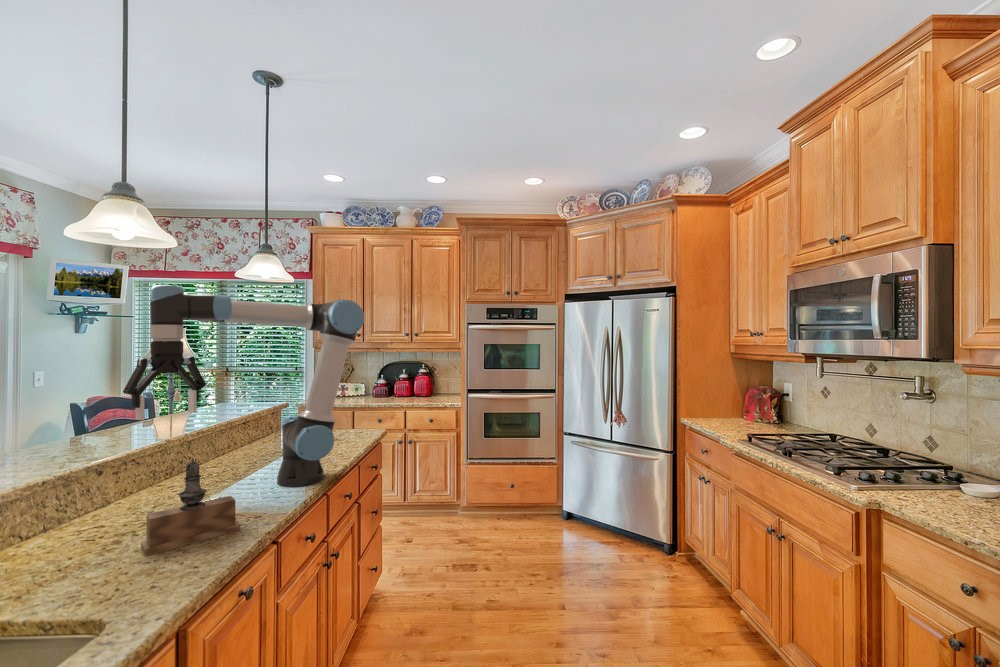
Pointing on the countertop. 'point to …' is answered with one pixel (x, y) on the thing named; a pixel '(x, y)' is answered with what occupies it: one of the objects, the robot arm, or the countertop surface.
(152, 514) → the ridge
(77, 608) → the countertop surface
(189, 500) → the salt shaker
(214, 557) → the countertop surface
